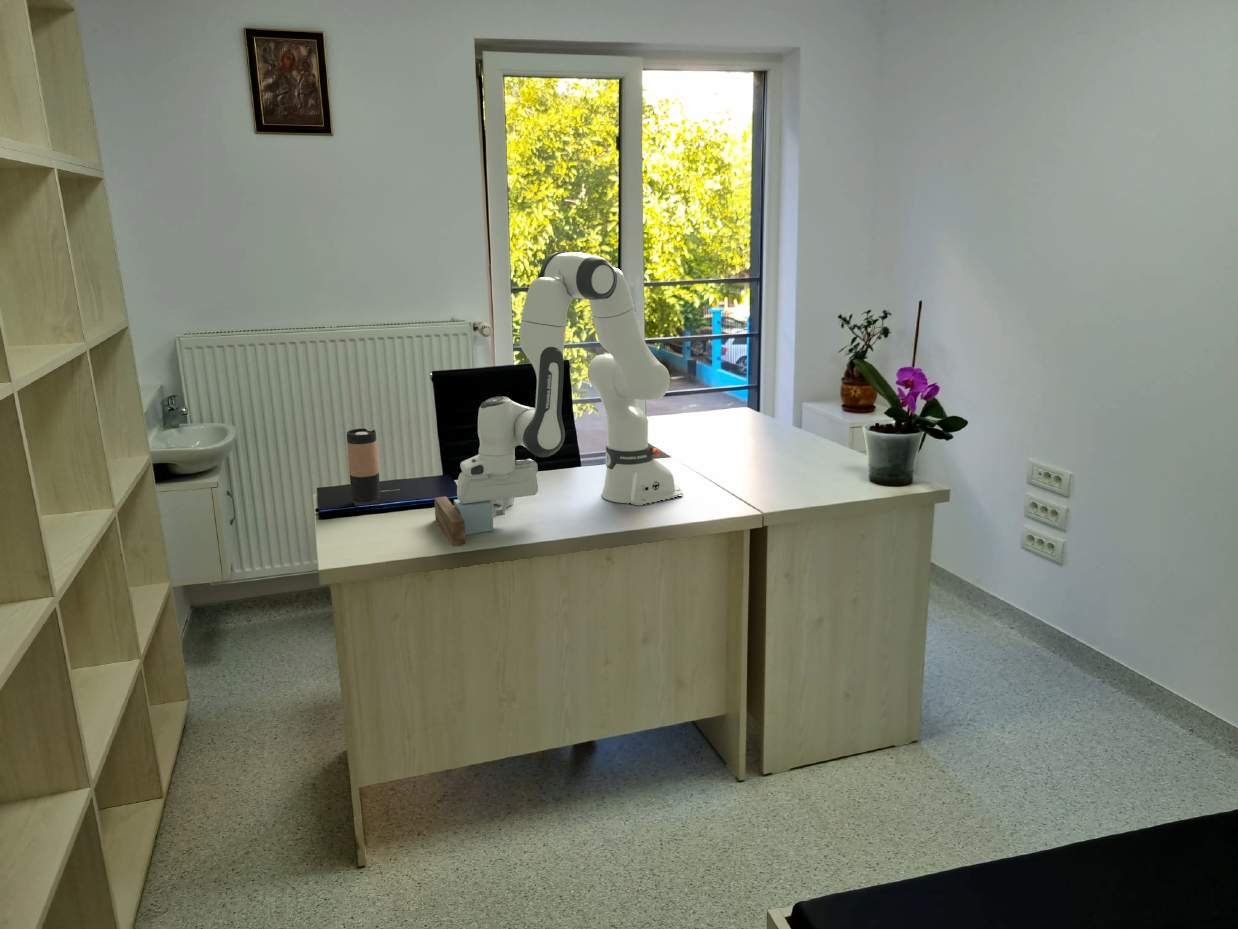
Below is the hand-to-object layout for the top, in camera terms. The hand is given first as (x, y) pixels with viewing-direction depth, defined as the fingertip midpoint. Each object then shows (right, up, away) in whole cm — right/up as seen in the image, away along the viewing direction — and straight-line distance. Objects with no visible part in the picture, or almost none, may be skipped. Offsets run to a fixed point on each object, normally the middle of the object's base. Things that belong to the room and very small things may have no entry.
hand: (498, 515), depth 237 cm
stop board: (-12, -4, -4) cm, 13 cm away
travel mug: (-38, +2, +17) cm, 42 cm away
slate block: (-6, -3, -2) cm, 7 cm away
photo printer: (-3, +2, +19) cm, 19 cm away
